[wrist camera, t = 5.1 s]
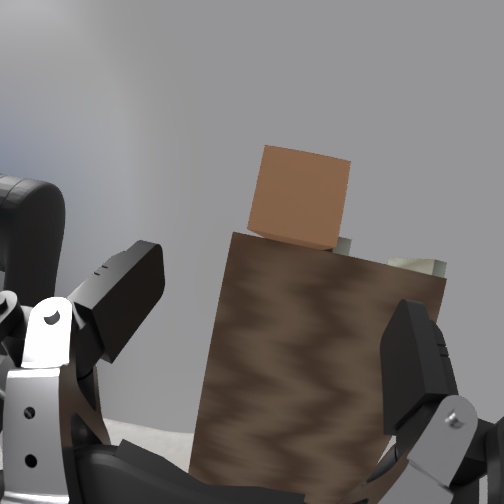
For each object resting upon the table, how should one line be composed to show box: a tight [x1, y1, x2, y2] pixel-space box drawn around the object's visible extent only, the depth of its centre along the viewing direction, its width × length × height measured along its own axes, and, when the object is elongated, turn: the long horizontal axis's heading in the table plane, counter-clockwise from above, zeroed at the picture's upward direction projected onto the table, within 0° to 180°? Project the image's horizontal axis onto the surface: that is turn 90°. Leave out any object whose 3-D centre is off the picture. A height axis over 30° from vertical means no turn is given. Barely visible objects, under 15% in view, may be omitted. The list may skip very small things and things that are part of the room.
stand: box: [188, 232, 447, 504], centre depth 26 cm, size 17×12×33 cm
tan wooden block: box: [247, 145, 351, 250], centre depth 24 cm, size 4×24×4 cm, turn 171°
